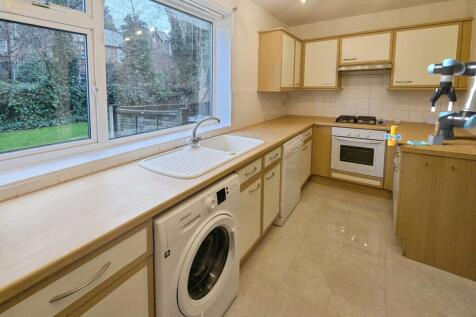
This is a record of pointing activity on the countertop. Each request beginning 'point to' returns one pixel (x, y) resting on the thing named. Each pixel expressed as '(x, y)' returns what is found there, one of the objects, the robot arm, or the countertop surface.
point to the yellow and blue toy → (393, 136)
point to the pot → (435, 140)
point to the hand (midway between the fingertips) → (441, 111)
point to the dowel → (437, 128)
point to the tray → (418, 143)
